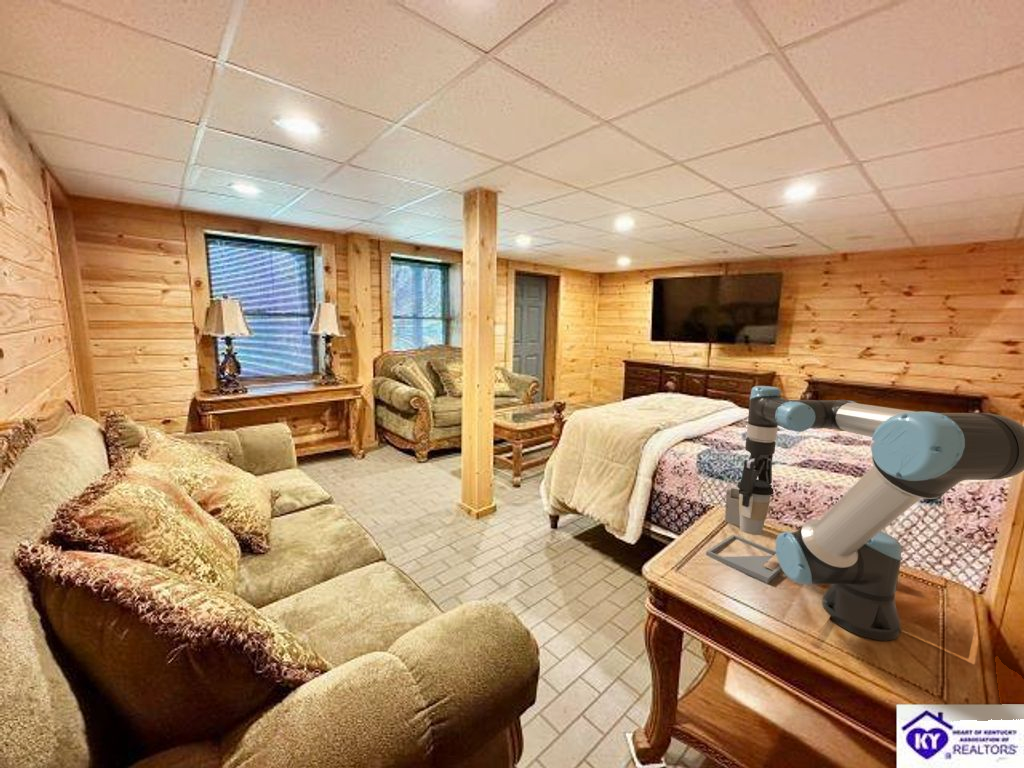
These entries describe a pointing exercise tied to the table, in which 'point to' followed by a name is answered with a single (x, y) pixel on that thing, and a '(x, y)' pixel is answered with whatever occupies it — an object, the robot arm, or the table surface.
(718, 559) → the grey tray
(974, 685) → the table surface
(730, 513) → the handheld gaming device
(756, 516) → the coffee cup
